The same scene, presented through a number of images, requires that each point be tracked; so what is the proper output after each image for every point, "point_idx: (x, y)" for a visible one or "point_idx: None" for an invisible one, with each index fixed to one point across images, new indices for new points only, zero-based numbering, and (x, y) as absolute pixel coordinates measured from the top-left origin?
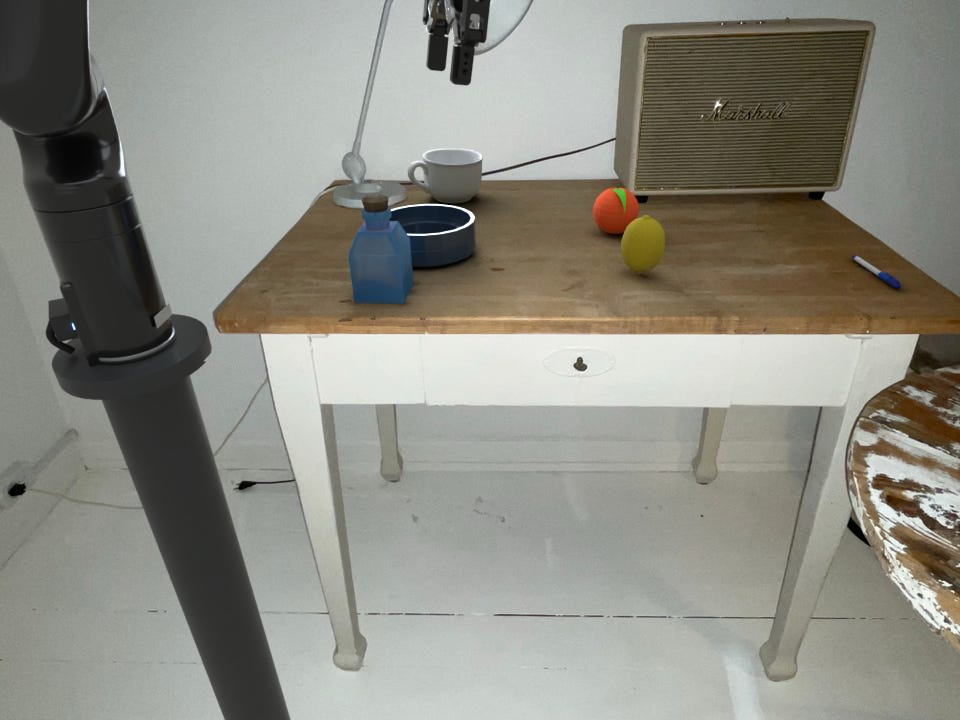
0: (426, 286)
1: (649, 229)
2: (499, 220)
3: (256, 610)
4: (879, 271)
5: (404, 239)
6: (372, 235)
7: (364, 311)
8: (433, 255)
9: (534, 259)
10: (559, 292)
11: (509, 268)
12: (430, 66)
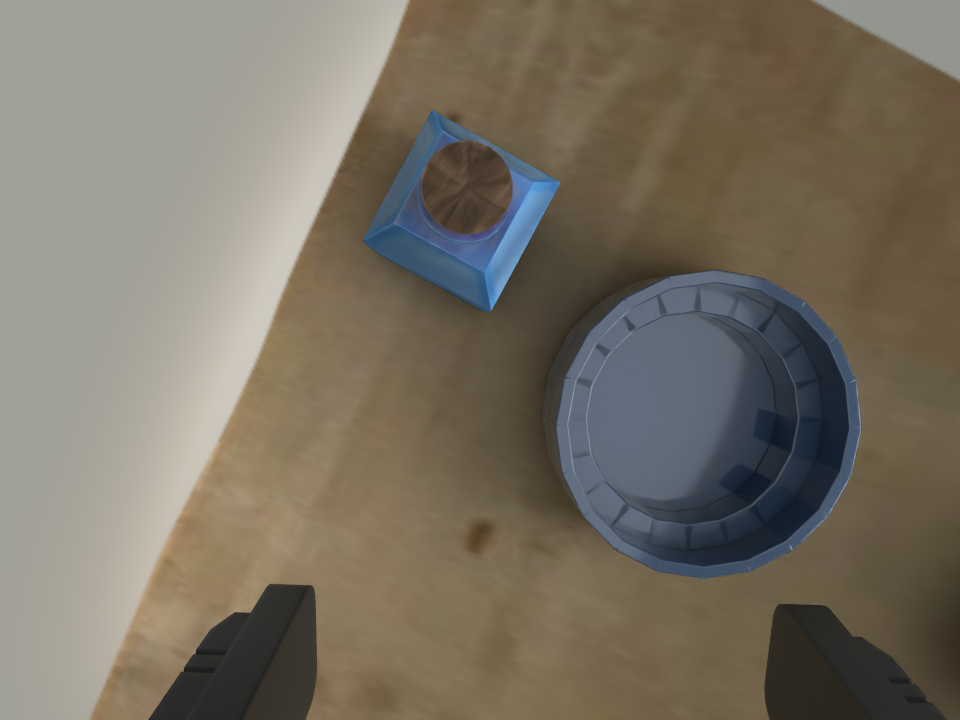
0: (453, 335)
1: None
2: None
3: None
4: None
5: (451, 282)
6: (416, 172)
7: (376, 155)
8: (550, 392)
9: (500, 650)
10: None
11: (472, 567)
12: (782, 622)
